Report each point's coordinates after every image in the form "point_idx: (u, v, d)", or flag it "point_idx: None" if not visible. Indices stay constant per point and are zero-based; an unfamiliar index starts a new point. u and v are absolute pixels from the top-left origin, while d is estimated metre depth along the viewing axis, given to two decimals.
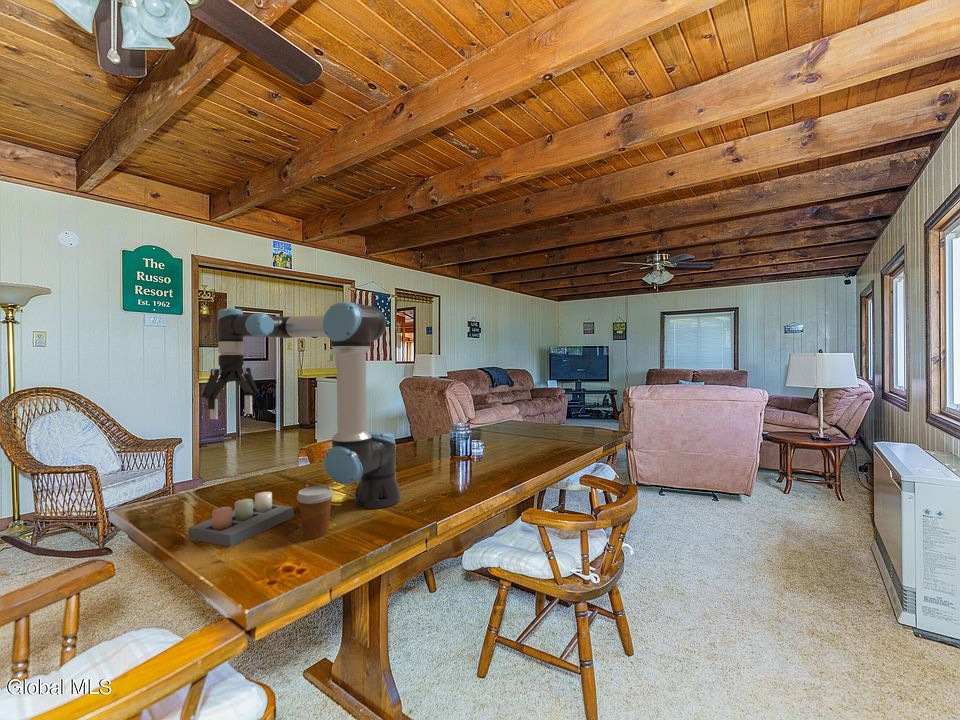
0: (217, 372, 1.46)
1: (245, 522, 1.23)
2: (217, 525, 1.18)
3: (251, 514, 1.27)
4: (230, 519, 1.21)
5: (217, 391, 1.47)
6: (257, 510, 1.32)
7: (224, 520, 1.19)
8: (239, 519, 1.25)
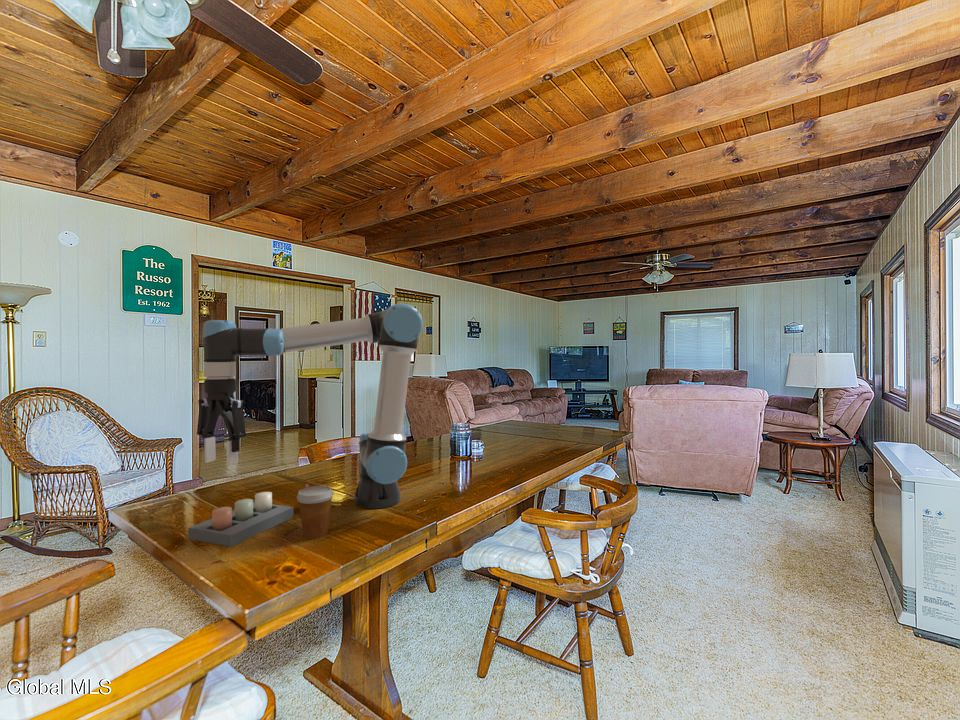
0: (200, 403, 1.21)
1: (245, 522, 1.23)
2: (217, 525, 1.18)
3: (251, 514, 1.27)
4: (230, 519, 1.21)
5: (205, 427, 1.21)
6: (257, 510, 1.32)
7: (224, 520, 1.19)
8: (239, 519, 1.25)
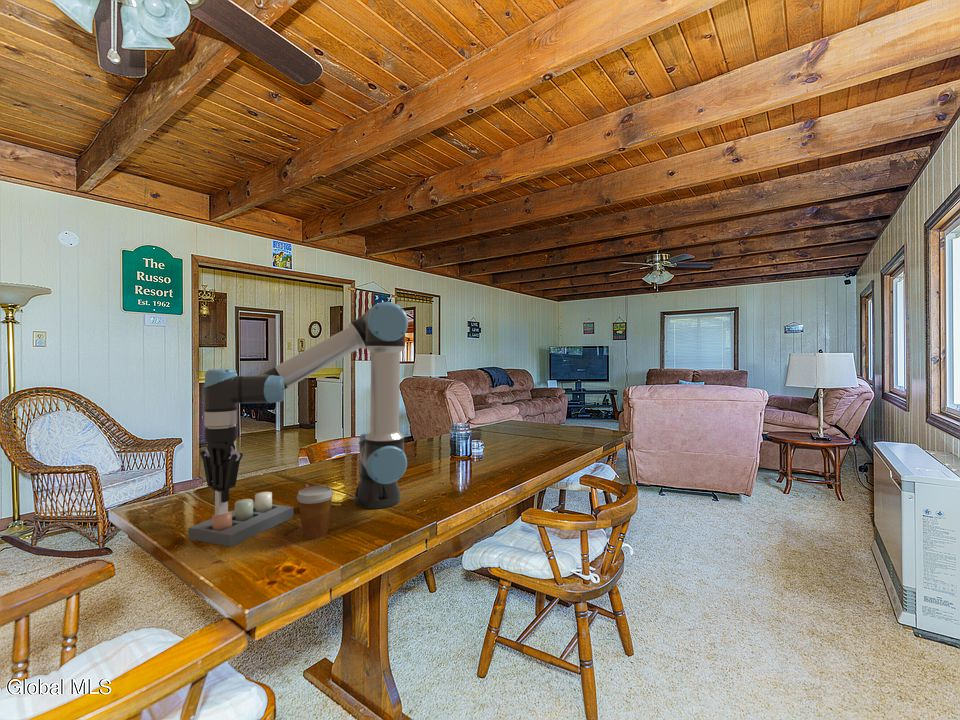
0: (202, 455, 1.21)
1: (245, 522, 1.23)
2: (217, 530, 1.18)
3: (251, 514, 1.27)
4: (230, 524, 1.21)
5: (213, 479, 1.20)
6: (257, 510, 1.32)
7: (224, 524, 1.19)
8: (239, 519, 1.25)
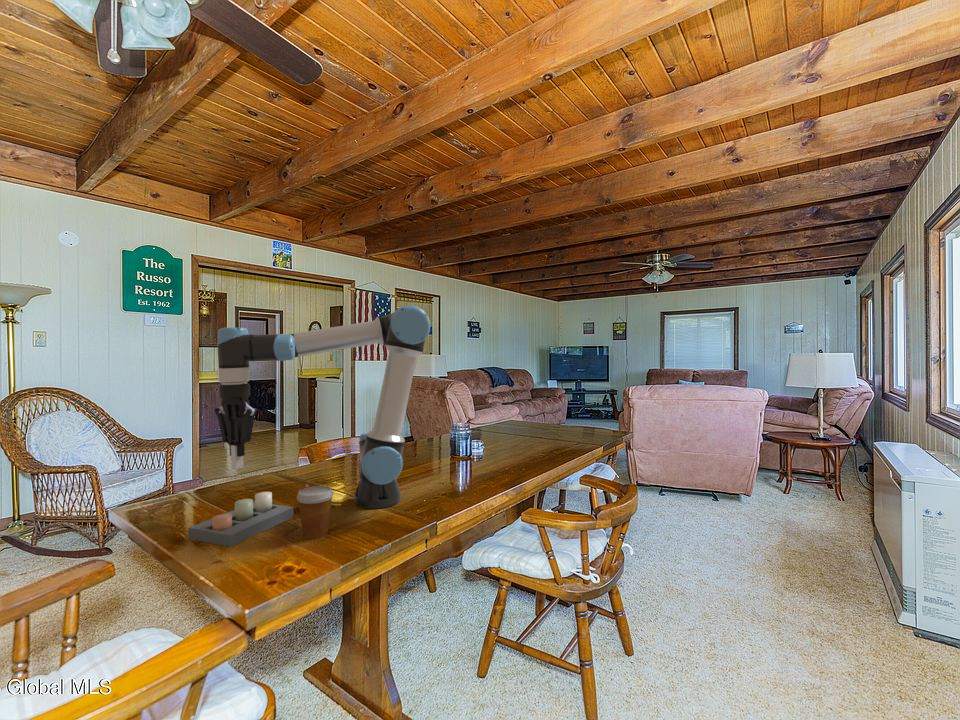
0: (216, 412, 1.25)
1: (245, 522, 1.23)
2: None
3: (251, 514, 1.27)
4: (230, 526, 1.21)
5: (228, 434, 1.24)
6: (257, 510, 1.32)
7: (224, 527, 1.19)
8: (239, 519, 1.25)
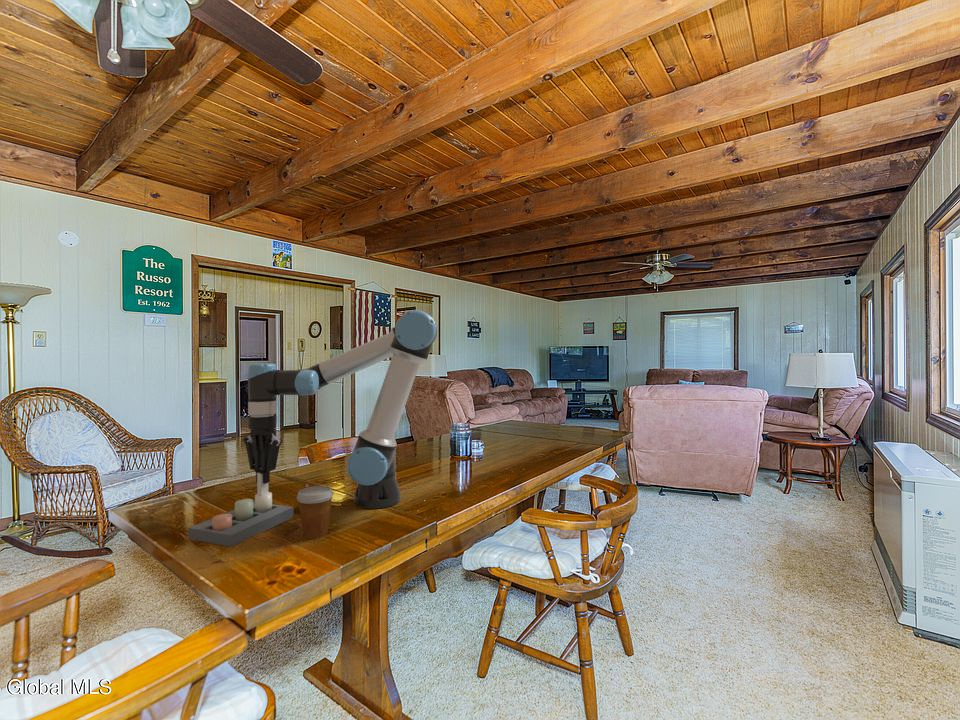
0: (245, 441, 1.34)
1: (245, 522, 1.23)
2: None
3: (251, 514, 1.27)
4: (230, 526, 1.21)
5: (255, 462, 1.33)
6: (257, 510, 1.32)
7: (224, 527, 1.19)
8: (239, 519, 1.25)
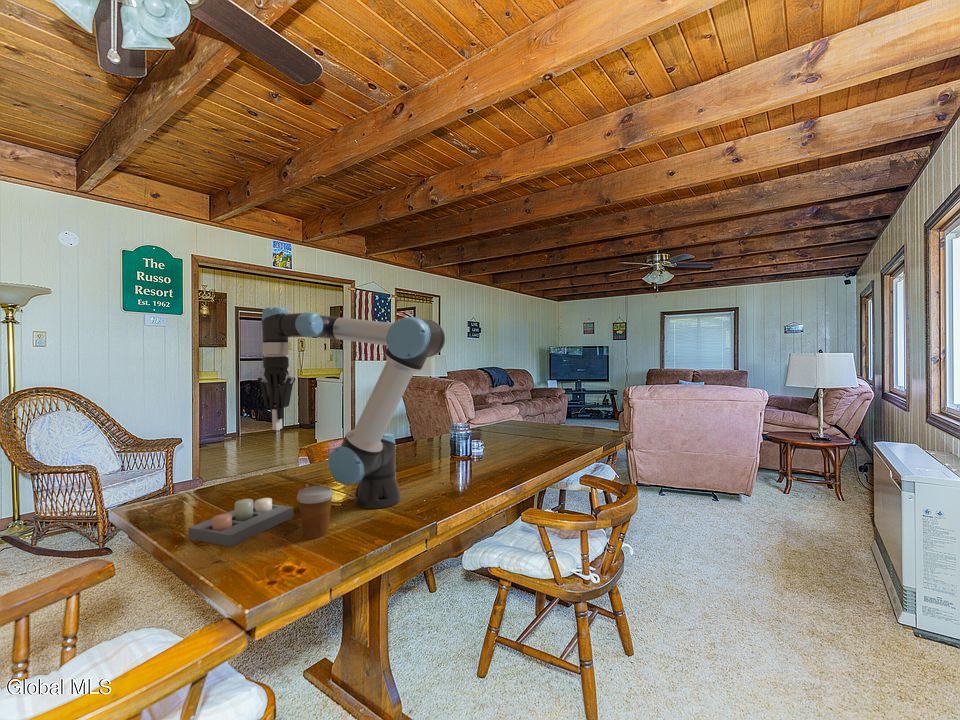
0: (259, 380, 1.44)
1: (245, 522, 1.23)
2: None
3: (251, 514, 1.27)
4: (230, 526, 1.21)
5: (270, 400, 1.43)
6: None
7: (224, 527, 1.19)
8: (239, 519, 1.25)
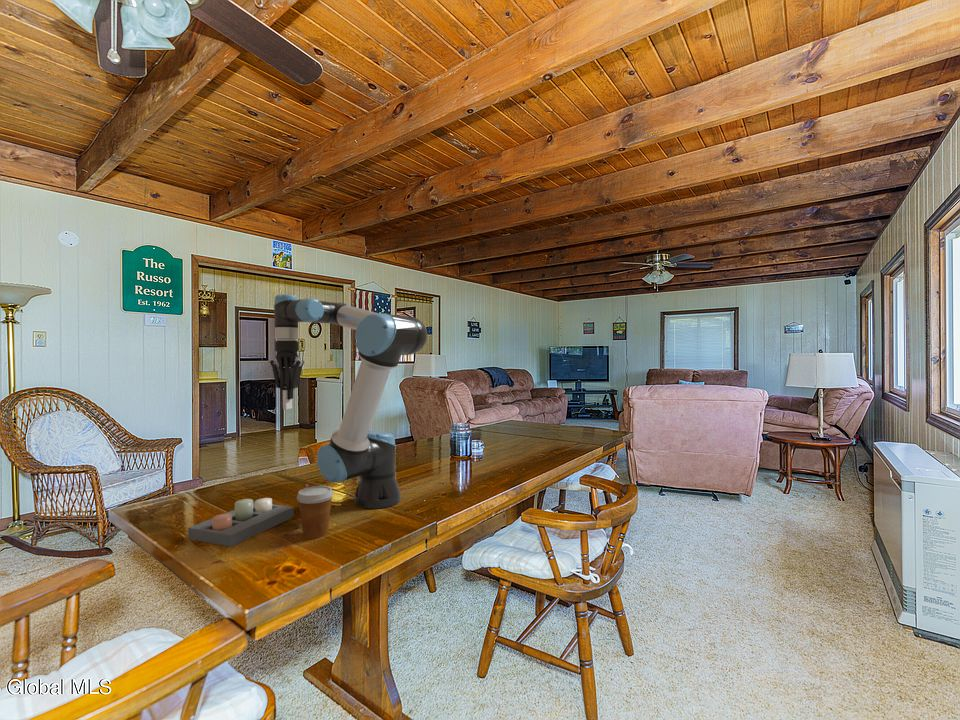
0: (271, 363, 1.54)
1: (245, 522, 1.23)
2: None
3: (251, 514, 1.27)
4: (230, 526, 1.21)
5: (281, 381, 1.53)
6: None
7: (224, 527, 1.19)
8: (239, 519, 1.25)
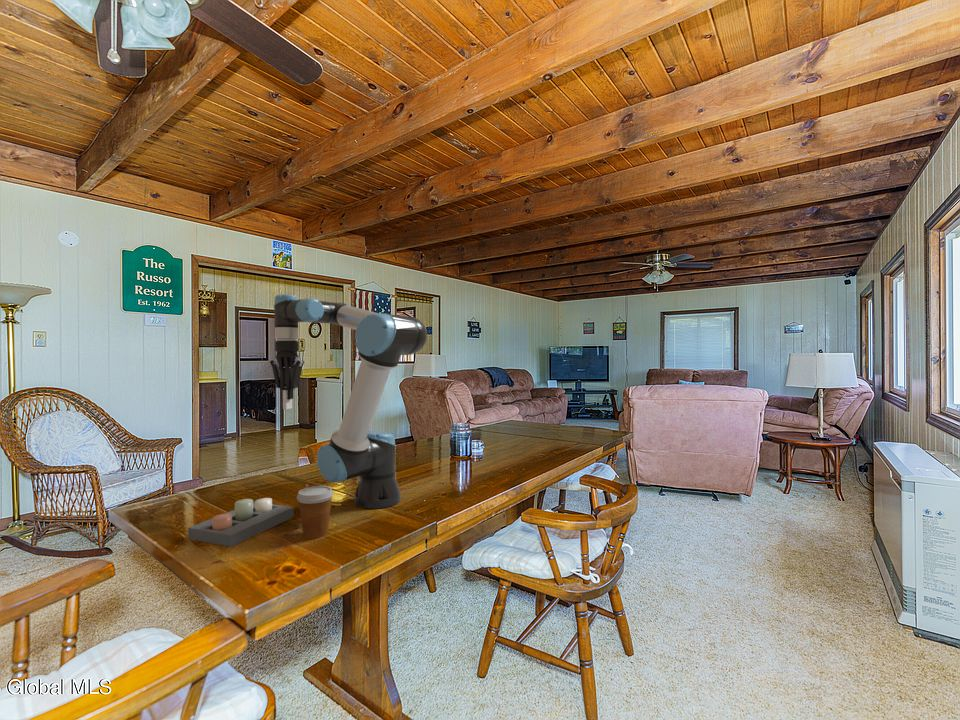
0: (271, 363, 1.54)
1: (245, 522, 1.23)
2: None
3: (251, 514, 1.27)
4: (230, 526, 1.21)
5: (281, 381, 1.53)
6: None
7: (224, 527, 1.19)
8: (239, 519, 1.25)
